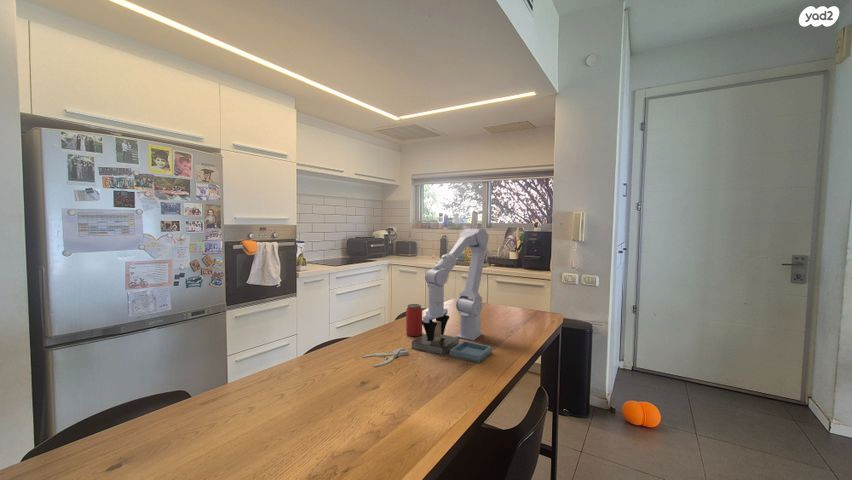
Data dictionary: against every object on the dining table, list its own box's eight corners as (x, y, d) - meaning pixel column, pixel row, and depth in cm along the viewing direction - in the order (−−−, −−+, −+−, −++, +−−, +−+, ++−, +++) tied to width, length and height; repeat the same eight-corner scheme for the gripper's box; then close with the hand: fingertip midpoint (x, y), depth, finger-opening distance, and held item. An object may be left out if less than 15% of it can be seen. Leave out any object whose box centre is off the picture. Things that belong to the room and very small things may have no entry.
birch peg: (433, 343, 132) (433, 320, 131) (442, 345, 130) (443, 322, 129) (428, 346, 128) (428, 322, 128) (437, 348, 126) (437, 324, 126)
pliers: (361, 353, 118) (399, 344, 127) (361, 358, 118) (399, 349, 127) (374, 363, 110) (414, 353, 119) (374, 368, 110) (413, 357, 119)
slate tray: (463, 346, 129) (463, 340, 129) (491, 352, 123) (491, 346, 123) (449, 356, 120) (449, 349, 119) (479, 363, 114) (479, 356, 114)
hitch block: (429, 338, 138) (430, 331, 138) (459, 344, 131) (459, 337, 131) (411, 347, 127) (411, 341, 127) (442, 355, 120) (442, 348, 120)
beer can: (421, 336, 139) (422, 307, 139) (405, 336, 139) (405, 307, 139) (422, 331, 146) (422, 303, 145) (406, 331, 146) (406, 303, 145)
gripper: (436, 296, 136) (436, 330, 137) (416, 303, 124) (416, 340, 125) (452, 298, 133) (452, 333, 133) (432, 306, 120) (432, 344, 121)
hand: (435, 337), depth 129 cm, fingers open, 7 cm apart
